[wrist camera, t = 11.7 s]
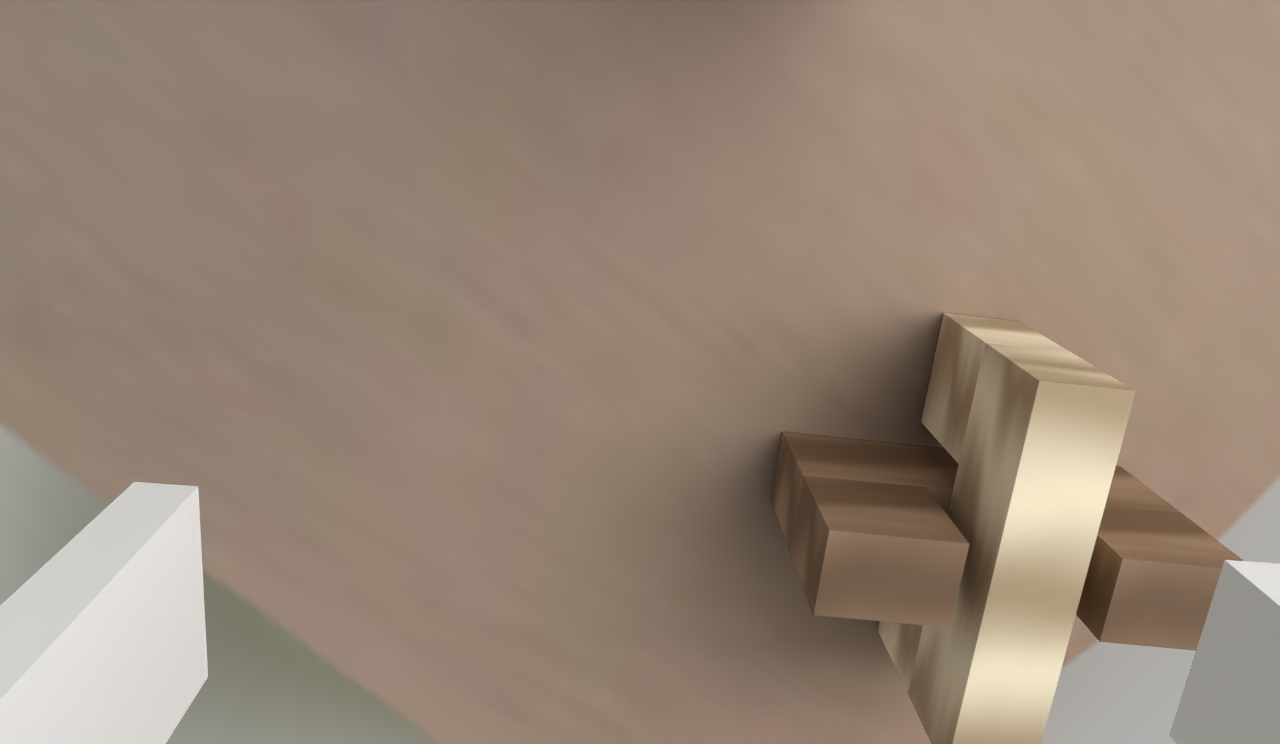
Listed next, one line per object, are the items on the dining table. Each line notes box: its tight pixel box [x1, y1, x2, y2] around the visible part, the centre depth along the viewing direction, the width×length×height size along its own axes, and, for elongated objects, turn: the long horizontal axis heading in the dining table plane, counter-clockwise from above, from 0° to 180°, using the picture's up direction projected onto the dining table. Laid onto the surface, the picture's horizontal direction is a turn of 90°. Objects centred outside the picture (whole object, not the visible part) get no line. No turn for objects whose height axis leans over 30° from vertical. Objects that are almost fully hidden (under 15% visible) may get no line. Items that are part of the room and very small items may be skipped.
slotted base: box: [771, 432, 1243, 650], centre depth 36 cm, size 3×14×9 cm, turn 83°
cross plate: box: [878, 313, 1136, 744], centre depth 36 cm, size 14×3×9 cm, turn 173°
